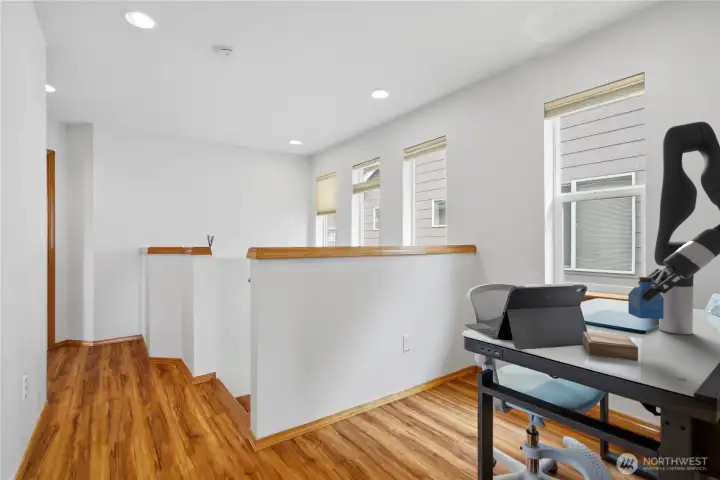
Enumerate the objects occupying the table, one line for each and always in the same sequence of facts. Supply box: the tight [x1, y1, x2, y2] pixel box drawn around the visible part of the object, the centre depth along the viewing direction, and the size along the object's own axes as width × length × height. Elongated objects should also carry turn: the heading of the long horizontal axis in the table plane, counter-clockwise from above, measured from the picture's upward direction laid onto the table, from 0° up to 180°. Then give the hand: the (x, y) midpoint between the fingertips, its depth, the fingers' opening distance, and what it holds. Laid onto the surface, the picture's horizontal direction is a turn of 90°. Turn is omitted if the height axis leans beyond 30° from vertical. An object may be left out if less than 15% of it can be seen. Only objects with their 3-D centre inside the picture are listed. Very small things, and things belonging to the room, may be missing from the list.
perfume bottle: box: [627, 276, 664, 320], centre depth 107 cm, size 6×6×12 cm
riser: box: [582, 331, 639, 362], centre depth 109 cm, size 12×12×4 cm
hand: (639, 296), depth 108 cm, fingers closed on perfume bottle, 7 cm apart
